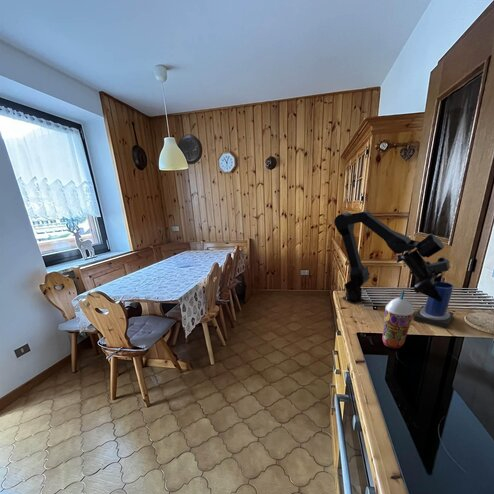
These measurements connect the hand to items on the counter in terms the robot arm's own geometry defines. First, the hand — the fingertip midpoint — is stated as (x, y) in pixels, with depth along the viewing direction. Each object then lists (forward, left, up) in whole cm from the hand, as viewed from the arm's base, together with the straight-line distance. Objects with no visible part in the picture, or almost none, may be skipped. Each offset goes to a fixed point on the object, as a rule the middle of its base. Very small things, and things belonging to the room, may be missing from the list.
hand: (443, 297), depth 106 cm
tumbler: (-1, -1, -7) cm, 7 cm away
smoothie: (+4, -29, -10) cm, 30 cm away
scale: (-1, -1, -9) cm, 10 cm away
